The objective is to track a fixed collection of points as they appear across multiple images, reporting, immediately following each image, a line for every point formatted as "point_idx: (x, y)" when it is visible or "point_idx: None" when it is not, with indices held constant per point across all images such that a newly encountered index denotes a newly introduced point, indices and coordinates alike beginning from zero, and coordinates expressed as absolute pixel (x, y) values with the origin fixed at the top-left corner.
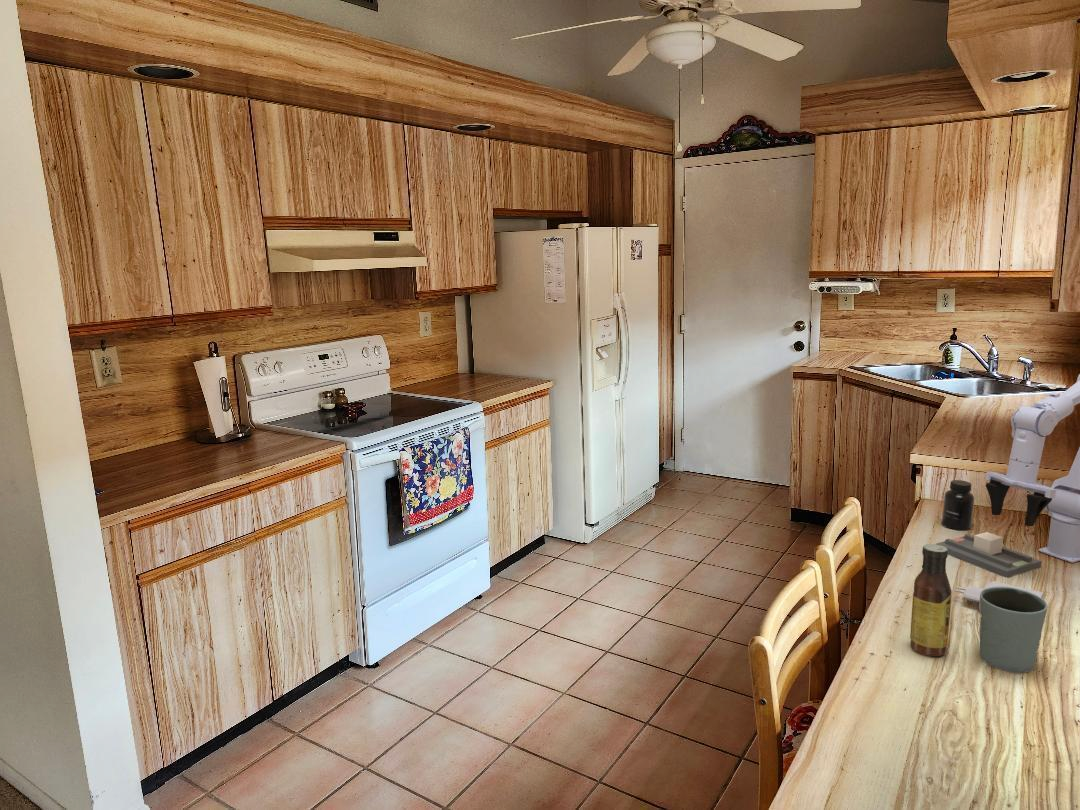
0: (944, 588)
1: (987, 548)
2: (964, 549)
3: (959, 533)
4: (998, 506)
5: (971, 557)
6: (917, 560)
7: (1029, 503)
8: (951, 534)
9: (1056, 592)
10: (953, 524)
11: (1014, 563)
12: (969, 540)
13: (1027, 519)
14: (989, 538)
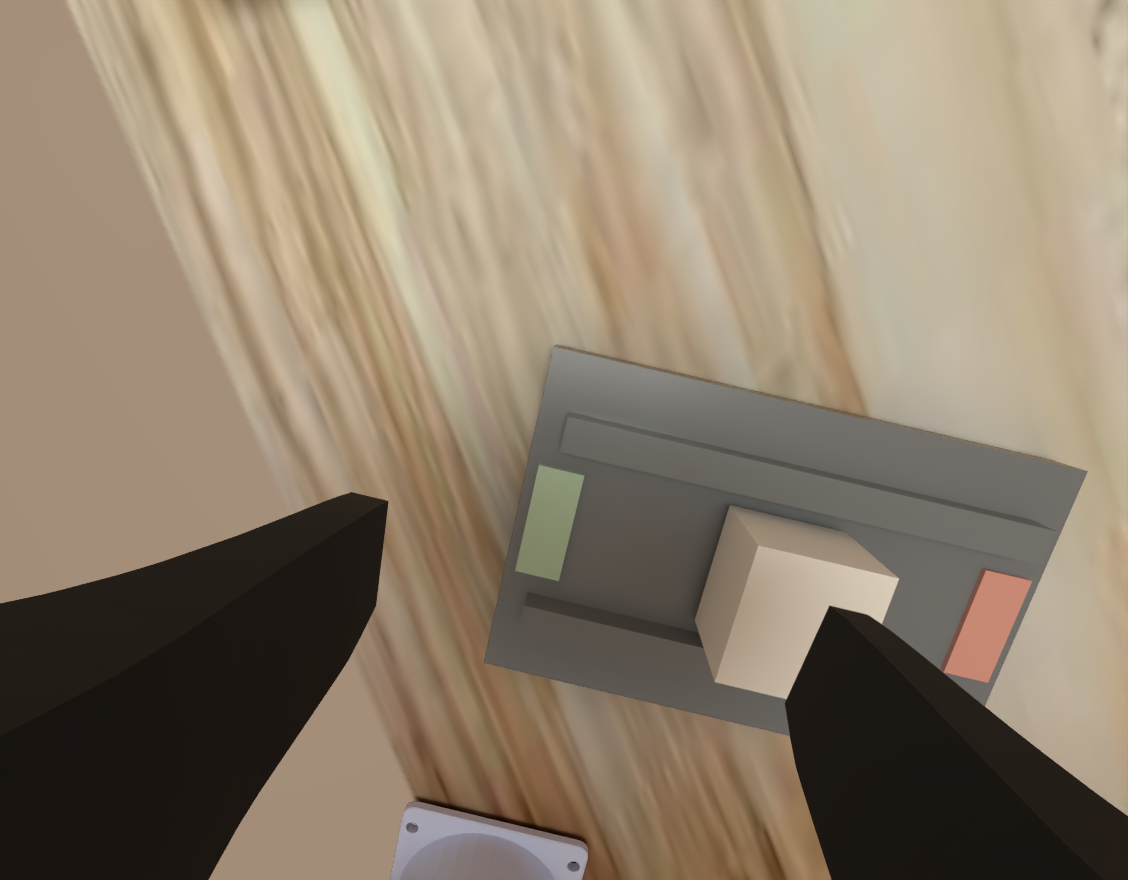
0: None
1: (757, 524)
2: (889, 489)
3: None
4: (860, 763)
5: (806, 405)
6: (1087, 171)
7: (9, 670)
8: None
9: (293, 354)
10: None
11: (569, 500)
12: None
13: (307, 515)
14: (784, 594)
